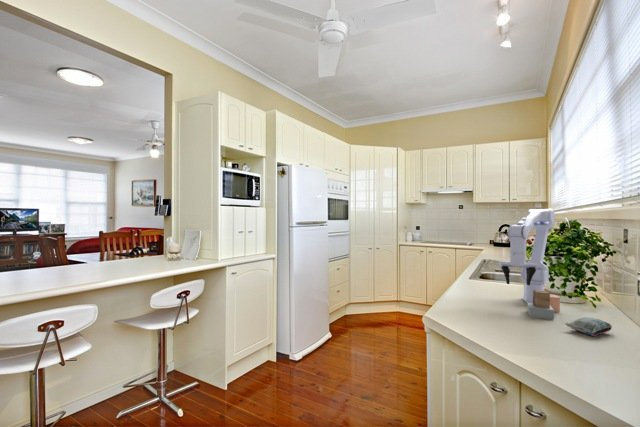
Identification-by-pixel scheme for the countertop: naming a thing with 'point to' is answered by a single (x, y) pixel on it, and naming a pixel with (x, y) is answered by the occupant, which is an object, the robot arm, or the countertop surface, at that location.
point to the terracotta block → (555, 303)
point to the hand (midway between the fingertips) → (517, 284)
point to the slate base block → (540, 312)
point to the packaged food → (590, 326)
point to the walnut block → (541, 298)
